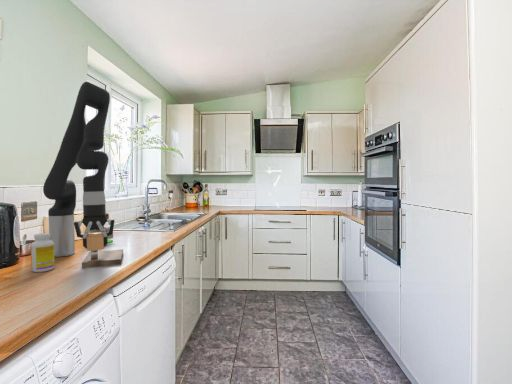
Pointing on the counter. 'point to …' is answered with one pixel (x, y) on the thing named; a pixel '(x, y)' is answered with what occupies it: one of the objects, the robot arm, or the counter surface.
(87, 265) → the board
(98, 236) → the tan wooden cube
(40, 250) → the supplement bottle
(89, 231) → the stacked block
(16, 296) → the counter surface
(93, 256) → the post
